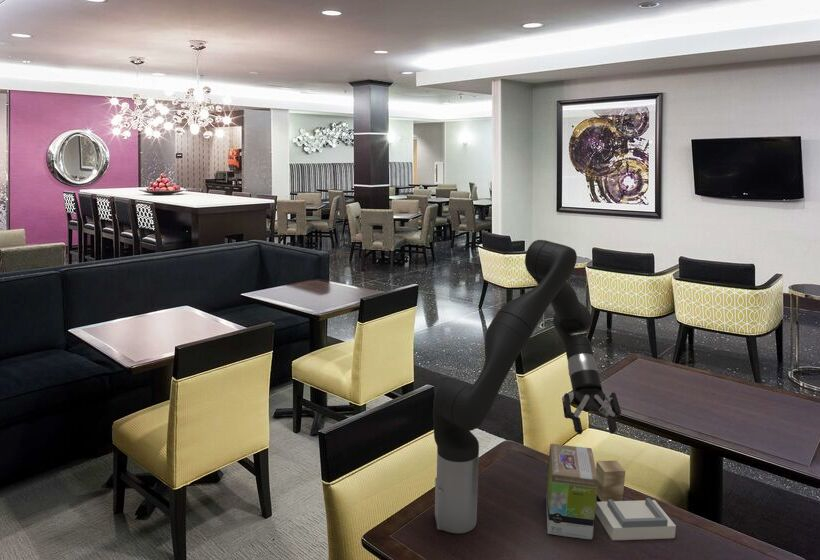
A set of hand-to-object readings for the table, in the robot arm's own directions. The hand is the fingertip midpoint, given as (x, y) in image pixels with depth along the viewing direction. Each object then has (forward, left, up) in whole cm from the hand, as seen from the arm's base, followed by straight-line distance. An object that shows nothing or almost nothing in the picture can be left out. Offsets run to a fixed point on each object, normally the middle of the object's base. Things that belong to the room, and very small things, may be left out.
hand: (596, 433), depth 151 cm
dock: (+2, -20, -13) cm, 24 cm away
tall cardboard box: (0, -10, -13) cm, 16 cm away
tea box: (-12, -16, -13) cm, 24 cm away
